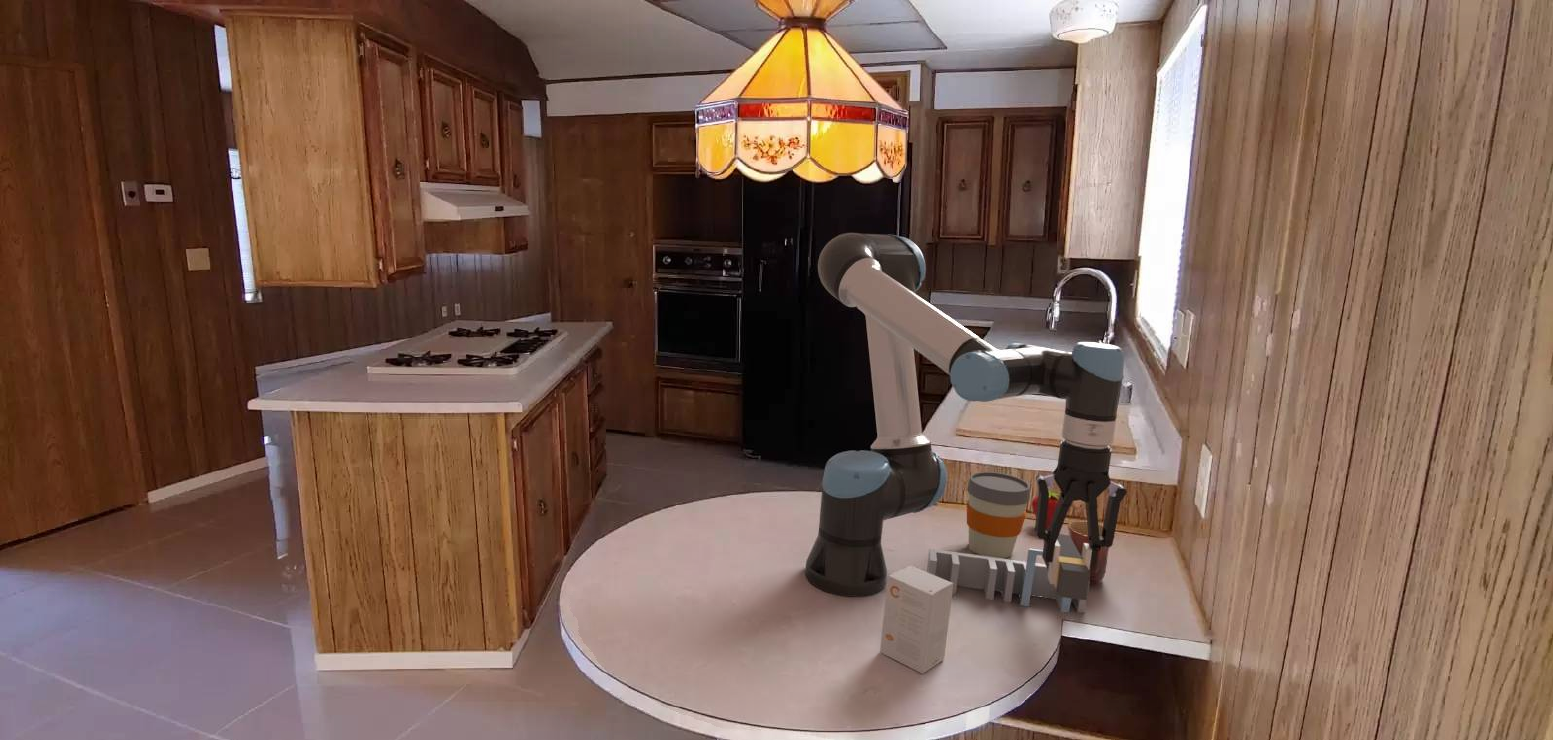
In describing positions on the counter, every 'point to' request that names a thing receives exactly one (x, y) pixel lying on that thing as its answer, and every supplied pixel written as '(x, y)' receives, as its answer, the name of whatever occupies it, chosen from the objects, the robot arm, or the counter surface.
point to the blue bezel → (1029, 580)
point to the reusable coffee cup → (995, 512)
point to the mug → (1080, 536)
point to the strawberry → (1051, 506)
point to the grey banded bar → (1070, 570)
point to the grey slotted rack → (993, 575)
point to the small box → (916, 618)
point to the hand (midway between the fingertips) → (1066, 582)
